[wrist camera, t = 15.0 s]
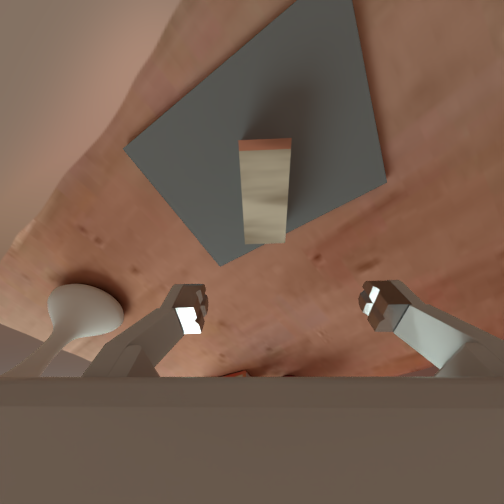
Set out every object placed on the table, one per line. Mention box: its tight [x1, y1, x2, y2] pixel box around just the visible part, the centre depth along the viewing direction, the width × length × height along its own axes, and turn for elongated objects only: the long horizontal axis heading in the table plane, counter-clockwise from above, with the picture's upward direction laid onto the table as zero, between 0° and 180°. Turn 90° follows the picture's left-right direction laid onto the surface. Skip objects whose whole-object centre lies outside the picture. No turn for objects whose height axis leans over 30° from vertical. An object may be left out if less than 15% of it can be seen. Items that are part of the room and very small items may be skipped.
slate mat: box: [123, 0, 387, 266], centre depth 21 cm, size 24×18×1 cm
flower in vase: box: [0, 284, 124, 377], centre depth 22 cm, size 13×11×25 cm
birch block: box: [238, 138, 292, 244], centre depth 20 cm, size 4×4×10 cm
